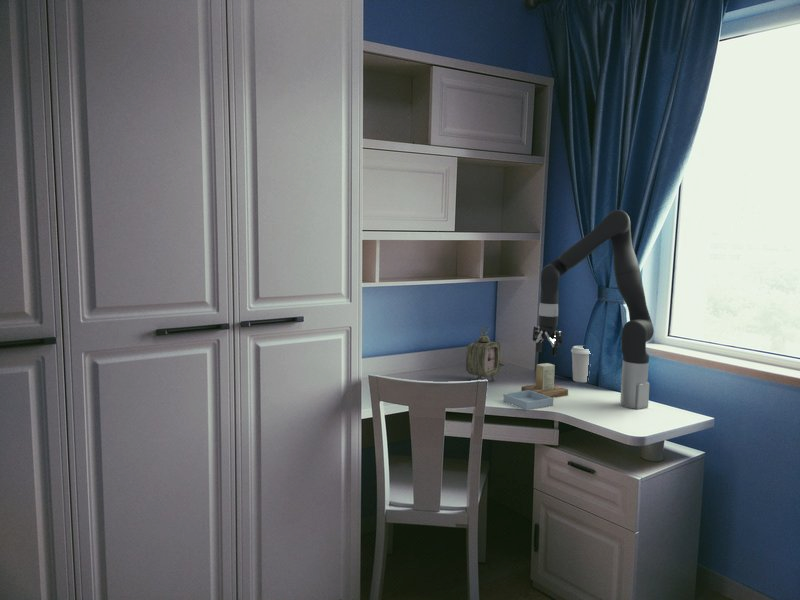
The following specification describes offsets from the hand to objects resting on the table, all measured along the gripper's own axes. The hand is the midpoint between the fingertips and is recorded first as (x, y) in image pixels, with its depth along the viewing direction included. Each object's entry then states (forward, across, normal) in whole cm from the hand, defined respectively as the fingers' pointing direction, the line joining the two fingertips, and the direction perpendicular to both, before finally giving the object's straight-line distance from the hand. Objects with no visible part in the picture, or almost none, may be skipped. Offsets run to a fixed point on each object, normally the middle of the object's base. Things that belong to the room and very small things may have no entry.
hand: (546, 354), depth 251 cm
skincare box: (+17, 0, 0) cm, 17 cm away
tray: (+16, -8, +16) cm, 24 cm away
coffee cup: (+17, +10, -31) cm, 36 cm away
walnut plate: (+16, 0, 0) cm, 16 cm away
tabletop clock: (+17, +27, +11) cm, 33 cm away
